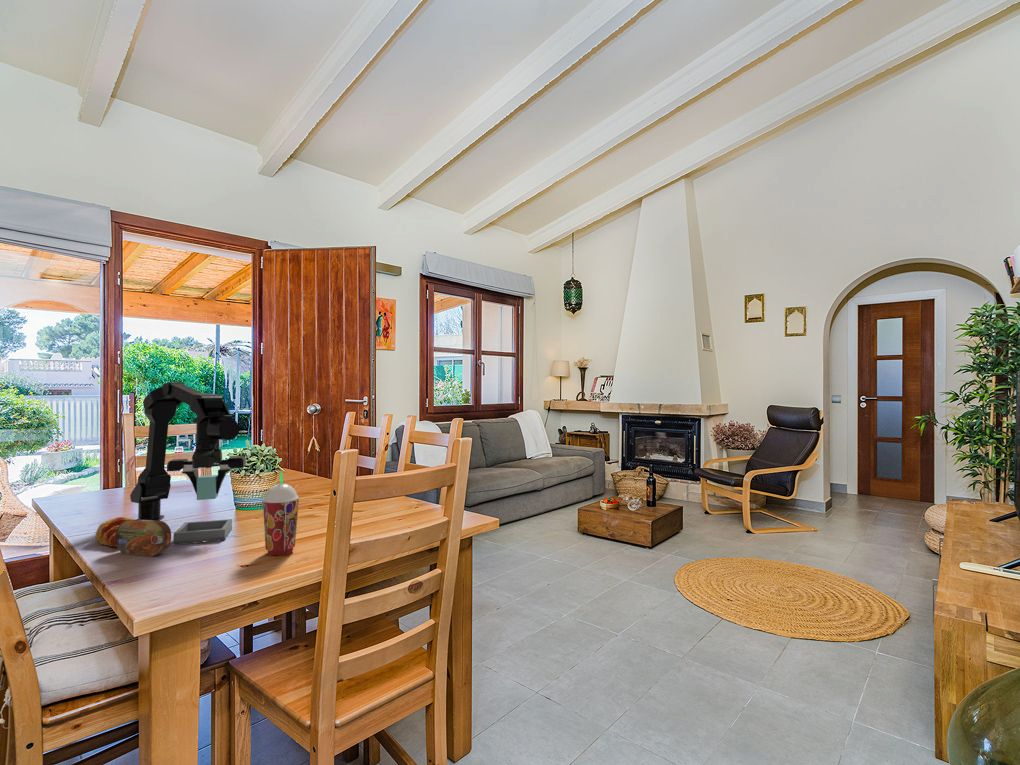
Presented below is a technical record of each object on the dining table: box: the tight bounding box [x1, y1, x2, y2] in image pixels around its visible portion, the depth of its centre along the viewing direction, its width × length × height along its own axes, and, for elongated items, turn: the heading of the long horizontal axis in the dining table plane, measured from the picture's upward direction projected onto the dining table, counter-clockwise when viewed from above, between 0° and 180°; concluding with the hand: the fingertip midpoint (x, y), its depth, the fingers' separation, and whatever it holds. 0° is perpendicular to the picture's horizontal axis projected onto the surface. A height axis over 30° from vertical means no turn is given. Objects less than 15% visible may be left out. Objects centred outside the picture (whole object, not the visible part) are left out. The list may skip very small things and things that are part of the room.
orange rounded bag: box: [115, 518, 172, 557], centre depth 129 cm, size 15×3×8 cm, turn 76°
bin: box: [173, 518, 233, 545], centre depth 144 cm, size 12×12×3 cm
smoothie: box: [262, 472, 300, 557], centre depth 131 cm, size 8×8×20 cm
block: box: [196, 474, 219, 501], centre depth 146 cm, size 4×4×6 cm
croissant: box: [95, 516, 136, 548], centre depth 140 cm, size 21×10×8 cm, turn 41°
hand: (207, 494), depth 146 cm, fingers closed on block, 4 cm apart
